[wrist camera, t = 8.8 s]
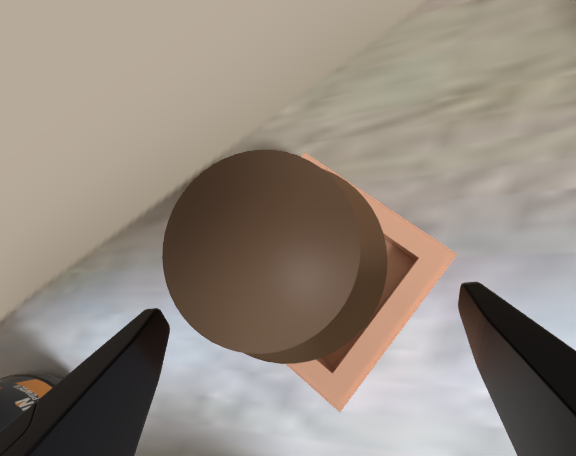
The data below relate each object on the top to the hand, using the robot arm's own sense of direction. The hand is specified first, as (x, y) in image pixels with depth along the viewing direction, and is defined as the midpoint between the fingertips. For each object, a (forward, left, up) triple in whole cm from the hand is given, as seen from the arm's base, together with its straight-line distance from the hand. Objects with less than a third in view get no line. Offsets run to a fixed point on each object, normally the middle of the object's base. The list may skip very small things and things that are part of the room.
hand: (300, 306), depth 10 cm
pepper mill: (+1, +1, -8) cm, 8 cm away
